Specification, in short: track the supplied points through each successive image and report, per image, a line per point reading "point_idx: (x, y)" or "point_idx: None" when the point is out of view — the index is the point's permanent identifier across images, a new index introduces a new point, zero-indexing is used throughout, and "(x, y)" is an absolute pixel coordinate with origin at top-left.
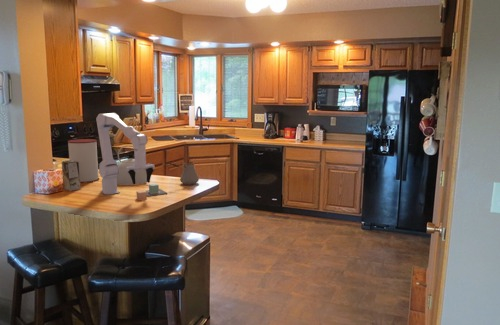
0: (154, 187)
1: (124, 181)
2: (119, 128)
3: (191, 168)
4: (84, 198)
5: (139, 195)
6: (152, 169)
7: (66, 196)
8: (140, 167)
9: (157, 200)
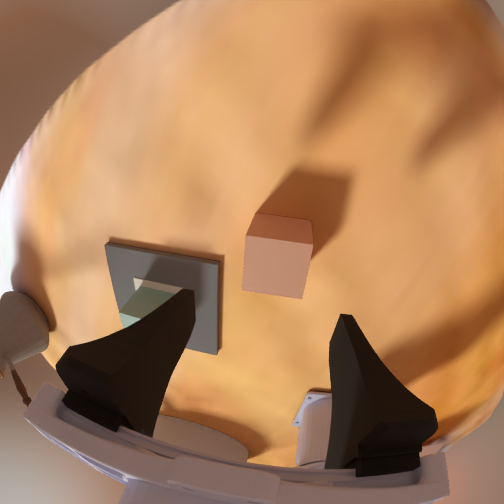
0: (148, 311)
1: (226, 446)
2: None
3: None
4: (442, 386)
5: (310, 234)
6: (64, 369)
7: (442, 417)
8: (278, 498)
9: (209, 129)
